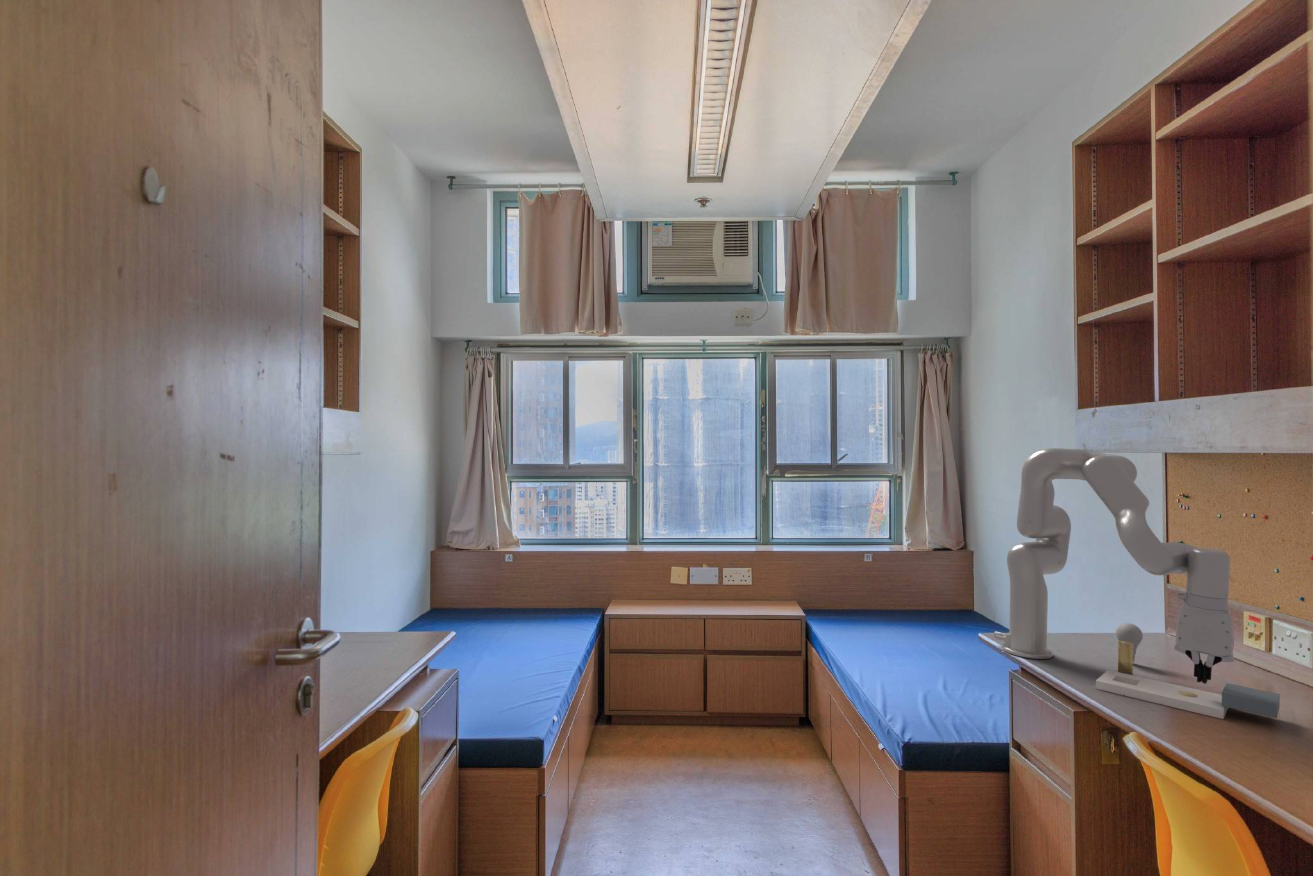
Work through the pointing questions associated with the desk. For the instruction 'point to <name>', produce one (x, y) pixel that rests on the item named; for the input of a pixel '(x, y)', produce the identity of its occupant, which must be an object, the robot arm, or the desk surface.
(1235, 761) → the desk surface
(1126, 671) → the pin
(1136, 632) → the lightbulb
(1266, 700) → the housing
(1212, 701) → the board
